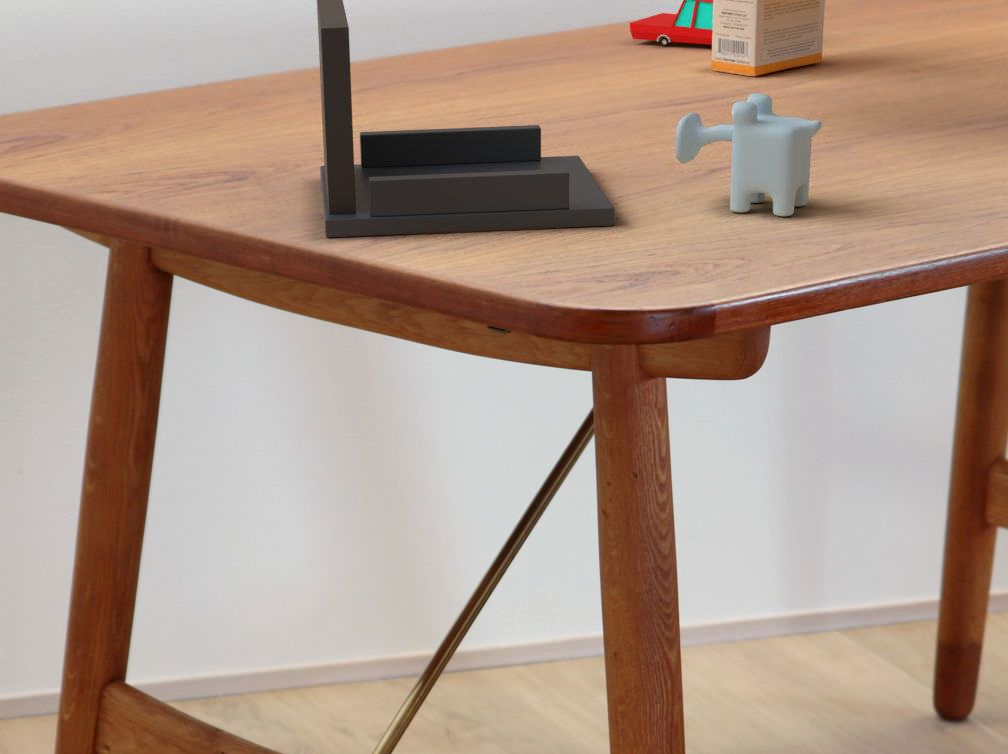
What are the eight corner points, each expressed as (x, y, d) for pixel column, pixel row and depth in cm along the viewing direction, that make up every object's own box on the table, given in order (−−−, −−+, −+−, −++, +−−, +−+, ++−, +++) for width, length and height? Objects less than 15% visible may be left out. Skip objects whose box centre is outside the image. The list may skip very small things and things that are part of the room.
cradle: (614, 225, 107) (618, 20, 102) (325, 237, 106) (316, 31, 101) (578, 171, 119) (580, -14, 115) (320, 181, 119) (312, -4, 114)
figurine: (693, 193, 113) (697, 87, 111) (826, 204, 110) (833, 95, 107) (668, 208, 110) (672, 99, 107) (805, 220, 106) (811, 108, 104)
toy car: (663, 33, 168) (664, -15, 166) (791, 41, 162) (794, -8, 160) (628, 44, 163) (629, -6, 162) (759, 53, 157) (762, 2, 155)
